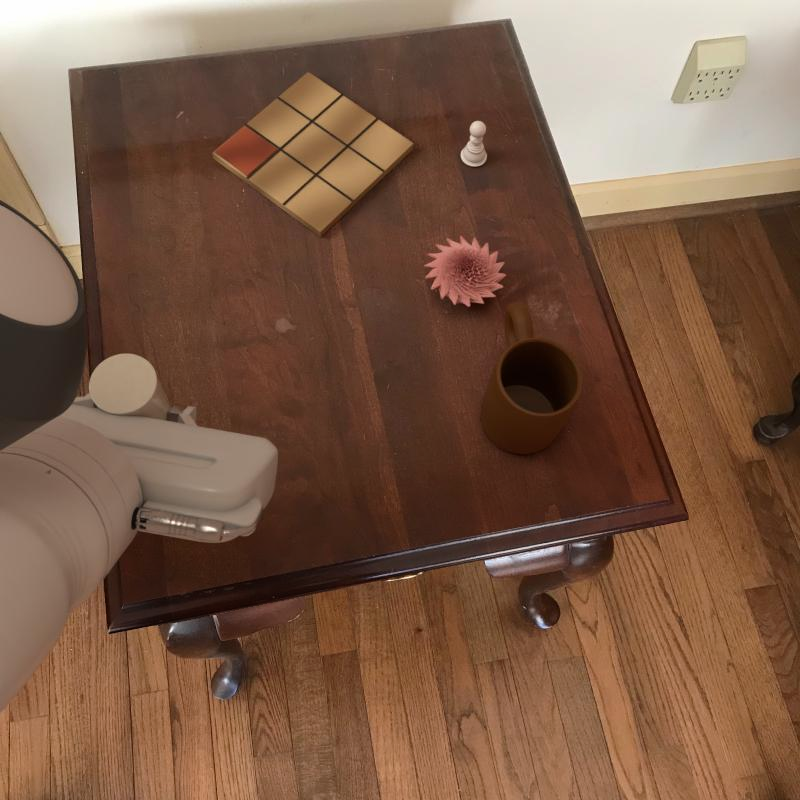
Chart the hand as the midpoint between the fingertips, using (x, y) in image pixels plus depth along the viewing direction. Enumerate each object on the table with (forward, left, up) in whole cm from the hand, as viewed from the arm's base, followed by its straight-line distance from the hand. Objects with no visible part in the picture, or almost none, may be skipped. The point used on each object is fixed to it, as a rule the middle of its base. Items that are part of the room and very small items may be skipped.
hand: (145, 408), depth 55 cm
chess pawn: (-4, +46, -20) cm, 50 cm away
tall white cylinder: (0, -1, -7) cm, 7 cm away
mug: (+16, +26, -20) cm, 36 cm away
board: (-17, +35, -20) cm, 44 cm away
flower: (+5, +32, -20) cm, 38 cm away
